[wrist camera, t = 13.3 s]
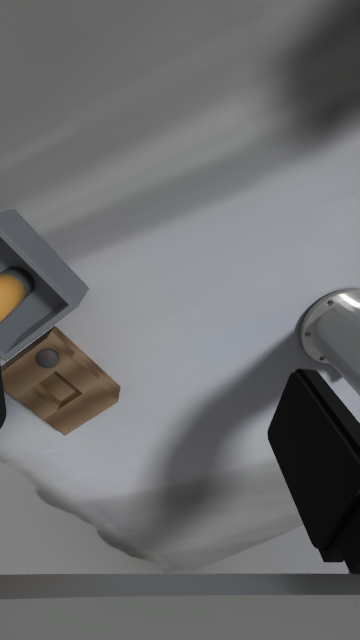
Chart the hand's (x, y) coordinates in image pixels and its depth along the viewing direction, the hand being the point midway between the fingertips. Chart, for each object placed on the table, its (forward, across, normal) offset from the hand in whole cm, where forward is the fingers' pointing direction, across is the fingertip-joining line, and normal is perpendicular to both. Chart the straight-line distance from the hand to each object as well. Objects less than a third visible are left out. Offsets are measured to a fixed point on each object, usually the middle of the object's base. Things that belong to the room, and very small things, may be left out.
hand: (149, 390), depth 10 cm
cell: (+30, +16, +9) cm, 35 cm away
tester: (+30, +11, +24) cm, 40 cm away
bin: (+30, +17, +9) cm, 36 cm away
